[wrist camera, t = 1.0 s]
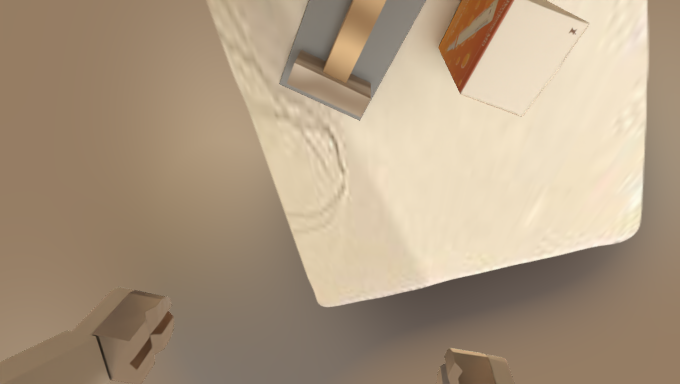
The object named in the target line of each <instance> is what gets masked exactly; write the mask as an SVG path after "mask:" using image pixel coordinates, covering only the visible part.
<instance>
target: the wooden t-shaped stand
mask: <svg viewBox="0 0 680 384" xmlns="http://www.w3.org/2000/svg"><path fill="white" fill-rule="evenodd" d="M385 2H386V0H352V2H351V4H350V7H349V9H348V11H347V14H346V16H345V18H344V21H343V23H342V25H341V28H340V30H339V32H338V35H337V37H336V39H335V41H334V44H333V46H332V48H331V51H330V53H329V55H328V58H327V60H326V61H324V60H322V59H319V58H317V57H315V56H313V55H311V54H309V53H307V52H305V51H303V50H301V51H300V53H299V55H298V57H297V59H296V61H295V63H294V66H293V68H292V71H291V74H290V76H289V79H288V82H287V84H289V85H291V86H293V87H295V88H297V89H300V90H302V91H304V92H306V93H308V94H310V95H313V96H315V97H317V98H319V99H321V100H324V101H326V102H328V103H330V104H332V105H335V106H337V107H339V108H341V109H343V110H345V111H348V112H350V113H352V114H354V115H356V116H359V117H361V116H362V114H363V112H364V111H365V109H366V107H367V105H368V103H369V101H370V100H371V83H369V82H367V81H365V80H363V79H361V78H359V77H357V76H355V75H353V74H351V72H352V70H353V68H354V66H355V64H356V62H357V60H358V58H359V56H360V53H361V51H362V49H363V47H364V45H365V43H366V41H367V39H368V37H369V35H370V33H371V31H372V29H373V27H374V25H375V23H376V21H377V19H378V16H379V14H380V12H381V10H382V8H383V6H384V4H385Z"/></svg>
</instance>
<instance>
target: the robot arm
mask: <svg viewBox="0 0 680 384" xmlns="http://www.w3.org/2000/svg"><path fill="white" fill-rule="evenodd" d="M171 306H172V304H171V300H170V297H165V296H161V295H156V294H152V293H147V292H142V291H137V290H132V289H127V288H122V287H117V288H115V289H113V290H111V291H110V292H109V293H108V294H107V295H106V297H105V298H104V299H103V300H102V301H101V302H100V303H99V304H98V305H97V306H96V307H95V308H94V309H93V310H92V311H91V312H90V313H89V314H88V315H87V316H86V317H85V318H84V319H83V320H82V321H81V322H80V323H79V324H78V325H77V326H76V328H75V329H73V331H64V332H62V333H60V334H58V335H56V336H54V337H52V338H50V339H48V340H45V341H43V342H41V343H39V344H37V345H35V346H33V347H31V348H29V349H27V350H24V351H22V352H20V353H18V354H16V355H14V356H12V357H10V358H7V359H5V360H3V361H1V362H0V384H109V383H110V380H112V381H118V382H124V383H131V384H142V382H143V381H144V379H145V378H146V376H147V375H148V373H149V372H150V370H151V369H152V367H153V366H154V364H155V358H154V355H155V354H157V353H159V352H160V351H162V350H163V349H165V347H166V345H167V344H168V342H169V340H170V338H171V335H172V332H173V330H174V329H173V328H174V317H173V315H172V314H171V313H170V312H169V311H168V310H169V309H170V308H171ZM436 384H515V383H514V380H513V377H512V374H511V371H510V368H509V365H508V362H507V361H506V360H505V358H503V357H498V356H492V355H487V354H483V353H477V352H471V351H466V350H459V349H454V348H449V349H448V350H447V351H446V354H445V364H443V365H441V366H440V368H439V371H438V374H437V382H436Z"/></svg>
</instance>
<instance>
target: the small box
mask: <svg viewBox="0 0 680 384" xmlns="http://www.w3.org/2000/svg"><path fill="white" fill-rule="evenodd" d="M588 26H589V23H588V22H586V21H584V20H583V19H581V18H579V17H577V16H575V15H573V14H571V13H569V12H567V11H565V10H563V9H561V8H560V7H558V6H556V5H554V4H552V3H550V2H548V1H547V0H462V1H461V3H460V5H459V7H458V9H457V11H456V13H455V15H454V17H453V19H452V21H451V23H450V25H449V27H448V29H447V31H446V33H445V35H444V37H443V39H442V41H441V43H440V45H439V50H440V52H441V54H442V56H443V59H444V61H445V63H446V65H447V67H448V69H449V71H450V73H451V75H452V78H453V80H454V82H455V84H456V86H457V88H458V90H459V92H460V94H461V95H464V96H467V97H470V98H472V99H475V100H478V101H480V102H483V103H486V104H488V105H491V106H494V107H497V108H499V109H502V110H505V111H507V112H510V113H513V114H515V115H518V116H523V115H524V114H525V113H526V111H527V110H528V109H529V108H530V106H531V105H532V103H533V102H534V101H535V100H536V98H537V97H538V95H539V94H540V93H541V91H542V90H543V89H544V87H545V86H546V85H547V84H548V82H549V81H550V80H551V79H552V77H553V76H554V75H555V73H556V72H557V71H558V69H559V68H560V66H561V65H562V63H563V61H564V60H565V58H566V57H567V55H568V54H569V53H570V51H571V50H572V48H573V47H574V46H575V44H576V43H577V41H578V40H579V38H580V37H581V36H582V34H583V33H584V31H585V30H586V29H587V27H588Z"/></svg>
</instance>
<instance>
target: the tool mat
mask: <svg viewBox="0 0 680 384" xmlns="http://www.w3.org/2000/svg"><path fill="white" fill-rule="evenodd" d="M425 1H426V0H386V2H385V4H384V6H383V8H382V10H381V12H380V14H379V16H378V19H377V21H376V23H375V25H374V27H373V29H372V31H371V33H370V35H369V37H368V39H367V41H366V43H365V45H364V47H363V49H362V51H361V53H360V56H359V58H358V60H357V62H356V64H355V66H354V68H353V70H352V72H351V74H353V75H355V76H357V77H359V78H361V79H363V80H365V81H367V82H369V83H371V99H372V97H373V95H374V94H375V92H376V90H377V88H378V86H379V84H380V83H381V81H382V79H383V77H384V75H385V74H386V72H387V70H388V68H389V66H390V65H391V63H392V61H393V59H394V57H395V55H396V54H397V52H398V50H399V48H400V46H401V45H402V43H403V41H404V39H405V37H406V36H407V34H408V32H409V30H410V28H411V26H412V25H413V23H414V21H415V19H416V17H417V16H418V14H419V12H420V10H421V8H422V7H423V5H424V3H425ZM351 2H352V0H309V2H308V5H307V8H306V11H305V13H304V16H303V19H302V22H301V25H300V27H299V30H298V33H297V36H296V39H295V41H294V44H293V47H292V50H291V53H290V55H289V58H288V61H287V64H286V66H285V69H284V72H283V75H282V78H281V80H280V83H279V84H280V85H282V86H285V87H287V88H289V89H291V90H293V91H296V92H298V93H300V94H302V95H304V96H307V97H309V98H311V99H313V100H315V101H318V102H320V103H322V104H324V105H326V106H329V107H331V108H333V109H335V110H337V111H340V112H342V113H344V114H346V115H348V116H351V117H353V118H355V119H357V120H359V121H360V119H361V117H362V116H361V117H359V116H356V115H354V114H352V113H350V112H348V111H345V110H343V109H341V108H339V107H337V106H335V105H332V104H330V103H328V102H326V101H324V100H321V99H319V98H317V97H315V96H313V95H310V94H308V93H306V92H304V91H302V90H300V89H297V88H295V87H293V86H291V85H289V84H287V82H288V79H289V76H290V74H291V71H292V68H293V66H294V63H295V61H296V59H297V57H298V55H299V53H300V51H301V50H303V51H305V52H307V53H309V54H311V55H313V56H315V57H317V58H319V59H322V60H324V61H326V60H327V58H328V55H329V53H330V51H331V48H332V46H333V44H334V41H335V39H336V37H337V35H338V32H339V30H340V28H341V25H342V23H343V21H344V18H345V16H346V14H347V11H348V9H349V7H350V4H351ZM370 101H371V100H370ZM370 101H369V103H370ZM369 103H368V104H369ZM367 106H368V105H367ZM366 108H367V107H366ZM365 110H366V109H365ZM364 112H365V111H364ZM364 112H363V113H364ZM362 115H363V114H362Z"/></svg>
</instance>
